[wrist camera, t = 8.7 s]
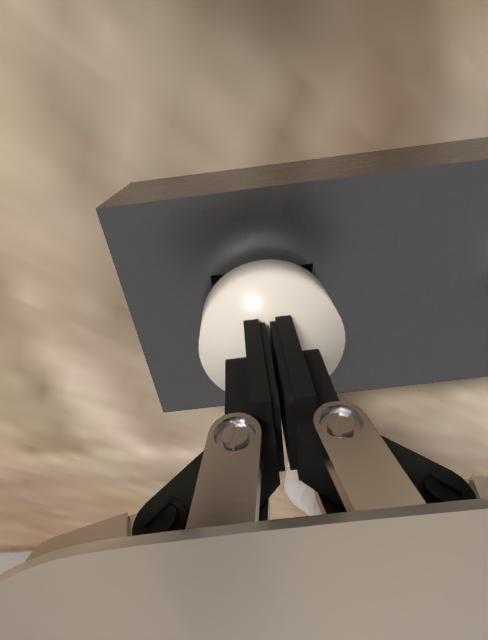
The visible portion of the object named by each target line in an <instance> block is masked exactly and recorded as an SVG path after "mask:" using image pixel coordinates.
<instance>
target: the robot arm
mask: <svg viewBox="0 0 488 640" xmlns="http://www.w3.org/2000/svg"><path fill="white" fill-rule="evenodd" d="M243 324H244V337H245V349H246V357H243V358H234V359H226V360H225V415H224V416H222V417H220V418H219V419H217V420H216V421H215V422H214V423H213V425H212V426H211V428H210V430H209V432H208V436H207V440H206V445H205V449H204V451H203V452H202V453H201V454H200V455H198V456H197V457H196V458H195V459H194V460H193V461H192V462H191V463H190V464H189V465H187V466H186V467H185V468H184V469H183V470H182V471H181V472H180V473H179V474H178V475H176V476H175V477H174V478H173V479H172V480H171V481H170V482H169V483H168V484H167V485H166V486H164V487H163V488H162V489H161V490H160V491H159V492H158V493H157V494H156V495H155V496H153V497H152V498H151V499H150V500H149V501H148V502H147V503H146V504H145V505H144V506H143V507H142V508H141V510H140V511H139V512H138V513H137V514H134V515H131V516H129V515H128V513H124V514H121V515H118V516H115V517H112V518H109V519H106V520H103V521H100V522H97V523H94V524H92V525H89V526H86V527H83V528H80V529H77V530H74V531H71V532H68V533H65V534H62V535H59V536H56V537H53V538H51V539H49V540H47V541H45V542H43V543H42V544H41V545H39V546H38V547H37V548H36V549H35V550H34V551H33V552H32V553H31V554H30V555H29V557H28V558H27V560H26V561H25V562H24V563H22V564H20V565H17V566H15V567H14V568H12V569H10V570H8V571H6V572H4V573H2V574H0V640H488V477H482V476H472V475H471V478H470V480H469V479H463V478H462V477H460V476H459V475H457V474H456V473H454V472H452V471H451V470H449V469H447V468H445V467H443V466H441V465H439V464H437V463H435V462H433V461H431V460H429V459H427V458H425V457H423V456H421V455H419V454H417V453H415V452H413V451H411V450H409V449H407V448H405V447H403V446H401V445H399V444H397V443H395V442H393V441H391V440H389V439H387V438H385V437H383V436H381V435H380V434H379V433H378V431H377V430H376V428H375V427H374V425H373V424H372V422H371V421H370V420H369V418H368V417H367V415H366V414H365V413H364V412H363V411H362V410H361V409H360V408H358V407H357V406H355V405H353V404H350V403H347V402H341V401H339V399H338V396H337V394H336V391H335V389H334V386H333V384H332V381H331V379H330V376H329V374H328V371H327V368H326V366H325V363H324V361H323V358H322V356H321V353H320V351H319V349H311V350H303V351H302V348H301V345H300V342H299V339H298V336H297V332H296V329H295V326H294V323H293V320H292V317H291V315H286V316H278V317H275V321H270V333H271V344H272V356H273V363H272V357H271V352H270V347H269V341H268V336H267V330H266V325H265V322H262V323H259V319H253V320H244V321H243ZM273 367H274V368H273ZM281 421H282V427H283V432H284V438H285V444H286V449H287V455H288V460H289V466H290V470H297V473H298V478H299V481H302V482H303V483H305V484H306V485H308V486H309V487H310V488H312V489H313V490H314V494H315V499H316V501H317V504H318V506H319V509H320V511H321V514H322V515H313V516H304V517H294V518H285V519H276V520H270V496H271V494H272V493H273V492H274V491H275V490H276V488H277V487H278V486H279V485H280V478H279V472H280V471H285V465H284V453H283V440H282V428H281Z"/></svg>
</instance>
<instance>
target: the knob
mask: <svg viewBox="0 0 488 640" xmlns="http://www.w3.org/2000/svg"><path fill="white" fill-rule="evenodd" d="M286 315H291V317H292V320H293V323H294V326H295V329H296V332H297V336H298V339H299V342H300V345H301V348H302V351H303V350H311V349H319V351H320V353H321V356H322V358H323V361H324V363H325V366H326V368H327V371H328V374H329V376H330V375H331V374H332V373H333V372H334V370H335V369H336V367H337V366H338V364H339V362H340V360H341V358H342V355H343V351H344V347H345V330H344V325H343V322H342V320H341V317H340V315H339V314H338V312H337V310H336V308H335V306H334V305H333V303H332V301H331V299H330V297H329V295H328V294H327V292H326V290H325V288H324V287H323V285H322V283H321V282H320V281H319V280H318V279H317V278H316V277H315V276H314V275H313V274H312V273H311V272H309V271H308V270H306V269H305V268H303V267H301V266H299V265H297V264H294V263H291V262H288V261H282V260H273V259H268V260H258V261H252V262H249V263H246V264H243V265H241V266H239V267H236V268H234V269H233V270H231V271H229V272H228V273H226V274H225V275H224V276H223V277H222V278H220V279H219V280H218V282H217V283H216V284H215V285H214V286H213V288H212V289H211V290H210V292H209V294H208V296H207V298H206V300H205V303H204V307H203V313H202V320H201V328H200V336H199V356H200V360H201V363H202V366H203V368H204V370H205V372H206V373H207V375H208V376H209V378H210V379H211V380H212V381H213V382H214V383H215V384H216V385H217V386H218V387H219V388H221V389H222V390H224V391H225V360H226V359H234V358H243V357H246V349H245V337H244V324H243V321H244V320H253V319H259V323H262V322H265V325H266V330H267V336H268V341H269V347H270V352H271V357H272V363H273V356H272V344H271V333H270V321H275V317H278V316H286ZM273 368H274V367H273Z"/></svg>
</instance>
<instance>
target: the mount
mask: <svg viewBox="0 0 488 640" xmlns="http://www.w3.org/2000/svg"><path fill="white" fill-rule="evenodd" d="M96 211H97V214H98V217H99V220H100V223H101V226H102V229H103V232H104V235H105V238H106V241H107V244H108V247H109V250H110V253H111V256H112V259H113V262H114V265H115V268H116V271H117V274H118V277H119V280H120V283H121V286H122V289H123V292H124V295H125V298H126V301H127V304H128V307H129V310H130V313H131V316H132V319H133V322H134V325H135V328H136V331H137V334H138V337H139V340H140V343H141V346H142V349H143V352H144V355H145V358H146V361H147V364H148V367H149V370H150V373H151V376H152V379H153V382H154V385H155V388H156V391H157V394H158V397H159V400H160V403H161V406H162V409H163V412H172V411H181V410H190V409H199V408H208V407H217V406H225V391H224V390H222V389H221V388H219V387H218V386H217V385H216V384H215V383H214V382H213V381H212V380H211V379H210V378H209V376H208V375H207V373H206V372H205V370H204V368H203V366H202V363H201V360H200V356H199V336H200V328H201V320H202V313H203V307H204V303H205V300H206V298H207V296H208V294H209V292H210V290H211V289H212V288H213V286H214V285H215V284H216V283H217V282H218V280H219V279H220V278H222V277H223V276H224V275H225V274H226V273H228V272H229V271H231V270H233V269H234V268H236V267H239V266H241V265H243V264H246V263H249V262H252V261H258V260H268V259H273V260H282V261H288V262H291V263H294V264H297V265H299V266H301V267H303V268H305V269H306V270H308V271H309V272H311V273H312V274H313V275H314V276H315V277H316V278H317V279H318V280H319V281H320V282H321V283H322V285H323V287H324V288H325V290H326V292H327V294H328V295H329V297H330V299H331V301H332V303H333V305H334V306H335V308H336V310H337V312H338V314H339V315H340V317H341V320H342V322H343V325H344V330H345V347H344V351H343V355H342V358H341V360H340V362H339V364H338V366H337V367H336V369H335V370H334V372H333V373H332V374H331V375H330V379H331V381H332V384H333V386H334V389H335V391H336V393H343V392H352V391H361V390H370V389H379V388H388V387H396V386H405V385H414V384H423V383H432V382H441V381H450V380H459V379H468V378H477V377H486V376H488V137H486V138H478V139H470V140H462V141H454V142H447V143H439V144H431V145H423V146H415V147H408V148H400V149H392V150H384V151H376V152H368V153H361V154H353V155H345V156H337V157H329V158H321V159H314V160H306V161H298V162H290V163H282V164H275V165H267V166H259V167H251V168H243V169H235V170H228V171H220V172H212V173H204V174H196V175H188V176H181V177H173V178H165V179H157V180H149V181H142V182H134V183H130V184H129V185H127V186H126V187H124V188H123V189H122V190H120V191H119V192H118V193H116V194H115V195H114V196H112V197H111V198H109V199H108V200H107V201H105V202H104V203H103V204H101V205H100V206H98V207H97V208H96Z"/></svg>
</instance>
